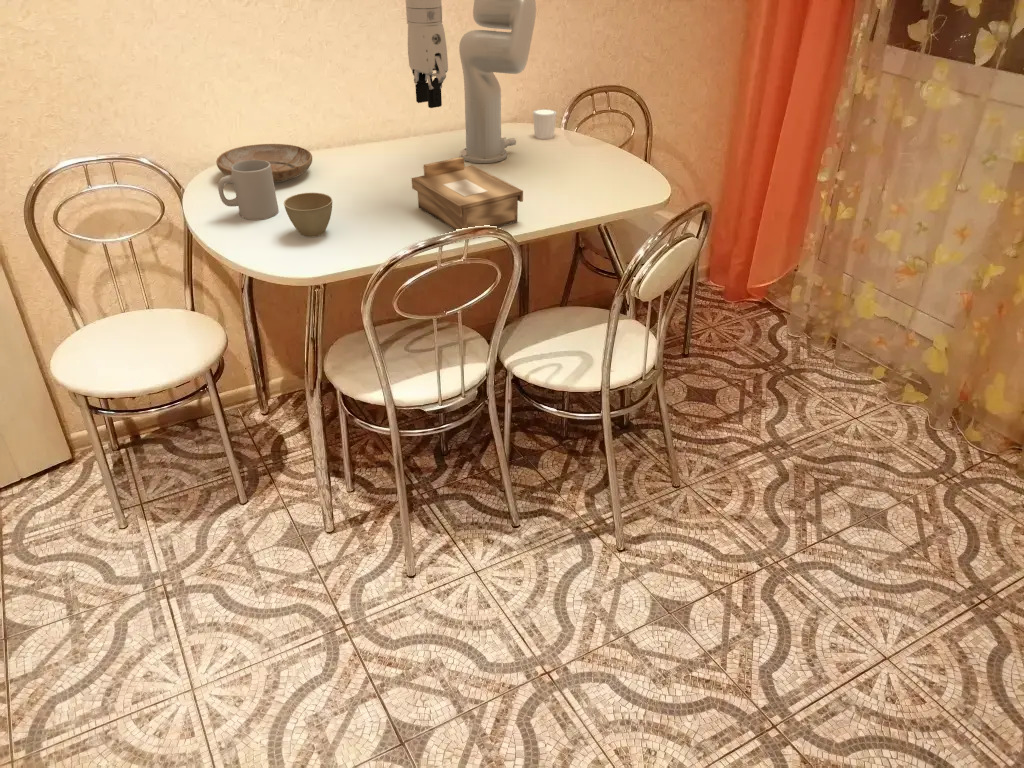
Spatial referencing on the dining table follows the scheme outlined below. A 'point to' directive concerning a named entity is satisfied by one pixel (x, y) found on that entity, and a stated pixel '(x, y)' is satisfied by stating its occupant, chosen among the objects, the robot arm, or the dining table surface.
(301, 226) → the flower pot
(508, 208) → the wooden box base
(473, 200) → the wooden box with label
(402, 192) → the dining table surface
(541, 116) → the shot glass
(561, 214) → the dining table surface
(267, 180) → the mug
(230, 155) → the shallow wooden bowl
